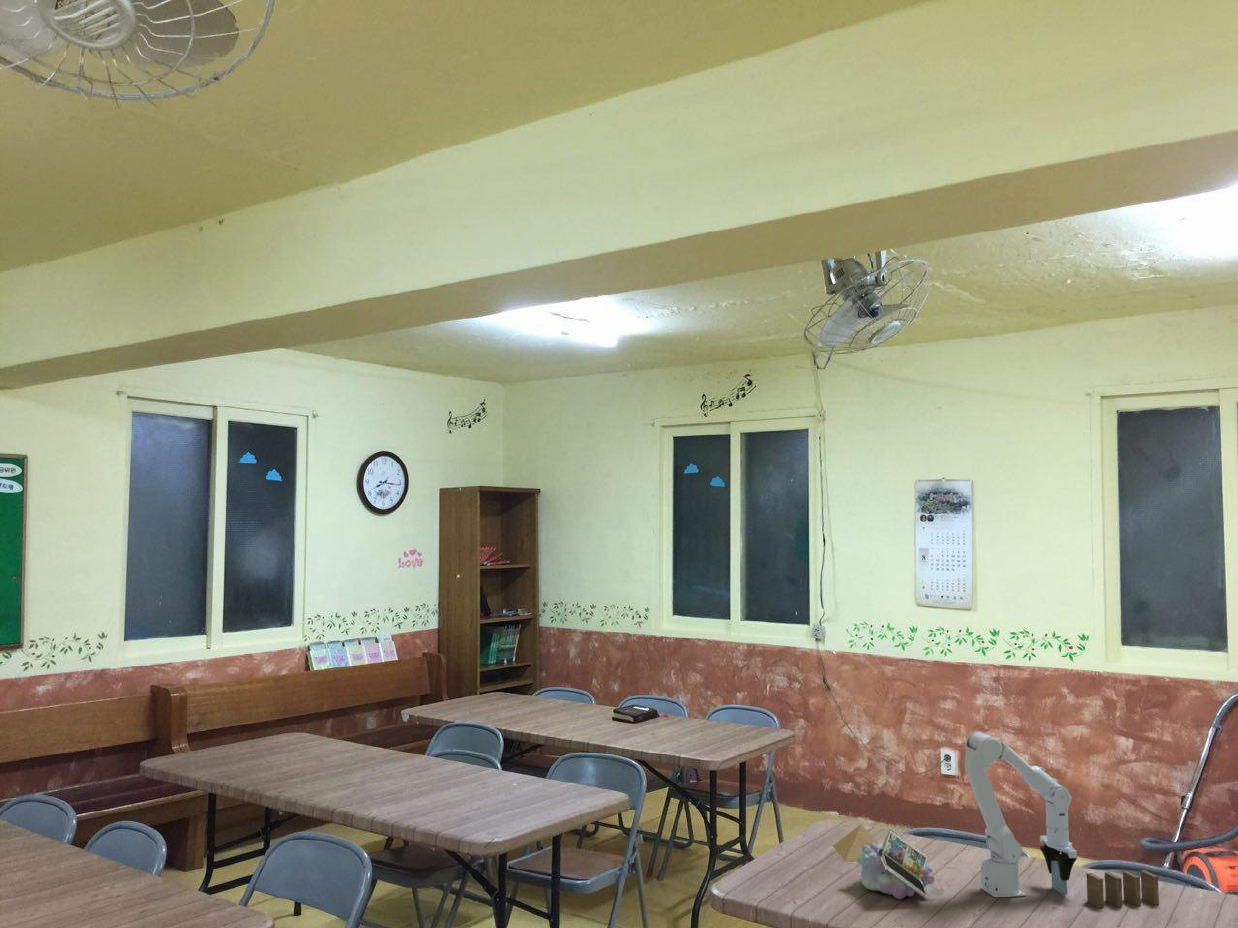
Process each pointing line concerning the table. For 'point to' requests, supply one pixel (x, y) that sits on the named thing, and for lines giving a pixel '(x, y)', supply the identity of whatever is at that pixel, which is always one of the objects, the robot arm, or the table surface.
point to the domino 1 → (1057, 879)
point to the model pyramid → (853, 844)
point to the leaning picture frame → (895, 867)
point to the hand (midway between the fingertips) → (1058, 876)
